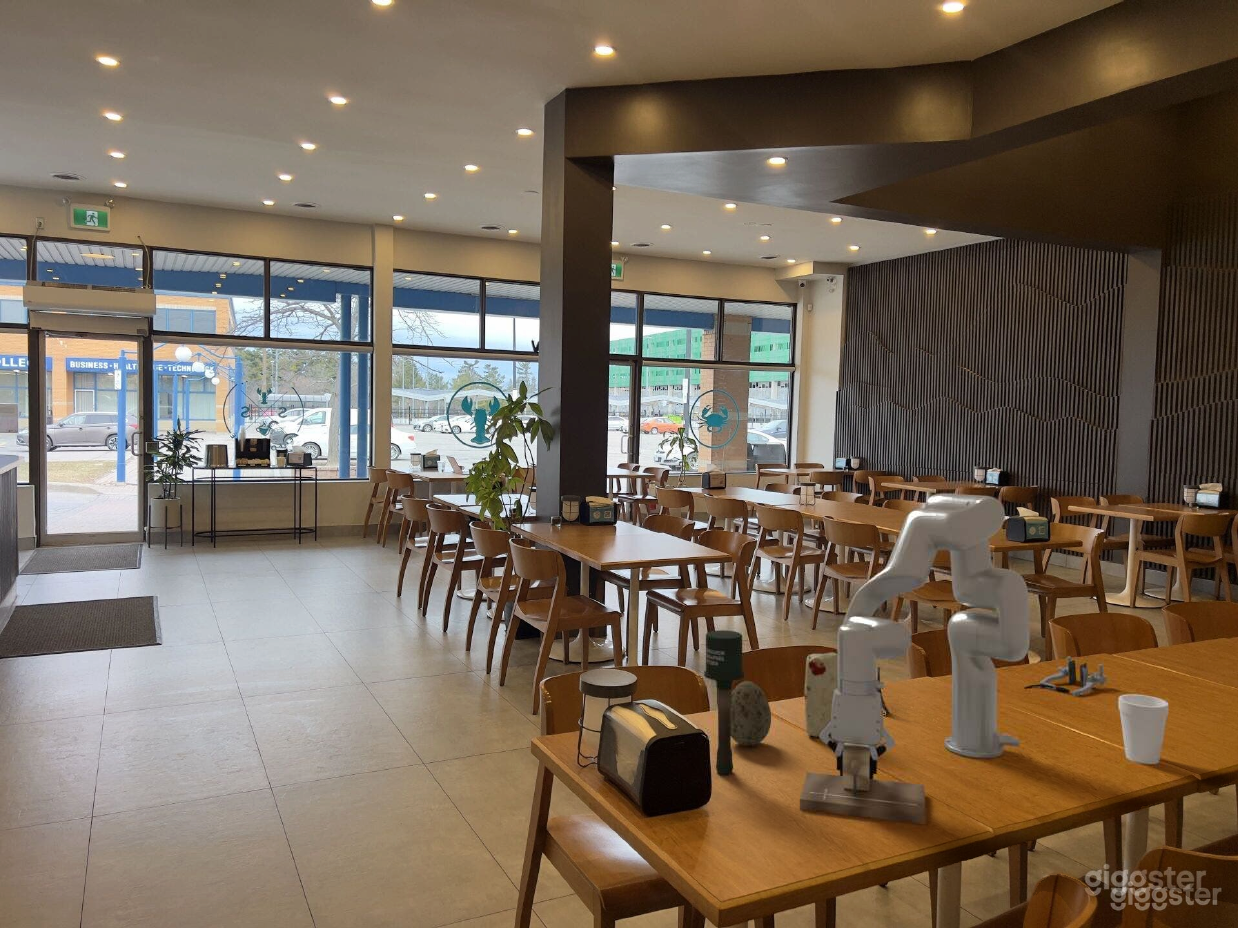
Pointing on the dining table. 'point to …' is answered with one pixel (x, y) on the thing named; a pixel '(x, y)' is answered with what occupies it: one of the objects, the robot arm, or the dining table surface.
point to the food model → (820, 690)
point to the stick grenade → (724, 686)
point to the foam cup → (1143, 726)
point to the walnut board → (864, 799)
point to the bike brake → (1074, 678)
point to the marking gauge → (856, 767)
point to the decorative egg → (749, 714)
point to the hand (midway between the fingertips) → (856, 774)
